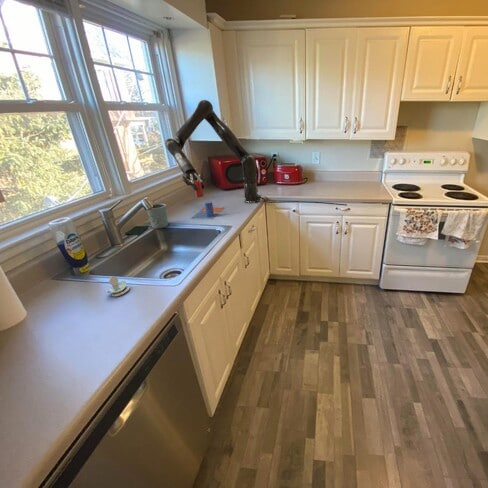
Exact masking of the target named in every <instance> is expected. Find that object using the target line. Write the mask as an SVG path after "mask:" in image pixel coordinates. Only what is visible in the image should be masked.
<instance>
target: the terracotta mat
mask: <svg viewBox="0 0 488 488" xmlns="http://www.w3.org/2000/svg"><path fill="white" fill-rule="evenodd" d="M224 209H225V207H217V206H216V207H215V206H213V211H214V213H220V212H221V211H222V210H224ZM201 212H206V209H205V207H204V208H203V209H201Z"/></svg>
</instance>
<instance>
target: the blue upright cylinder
mask: <svg viewBox="0 0 488 488" xmlns="http://www.w3.org/2000/svg"><path fill="white" fill-rule="evenodd" d="M213 207H214V203H213V201H211V200H207V201H204V208H205V209H206V211H205V213H206V215H207V217H213V216H214V213H215V212H214V211H213ZM214 217H215V216H214ZM214 217H213V218H214Z"/></svg>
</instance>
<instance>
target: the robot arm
mask: <svg viewBox="0 0 488 488" xmlns="http://www.w3.org/2000/svg"><path fill="white" fill-rule="evenodd" d="M204 120H205V121H206V122H207V123H208V125H210V126H211V128H212V129H213V131H214V132H215V134H216V135H217V136H218V137H219V139H220V140H221V141H222V142H223V144H224V145H225V146H226V147H227V148H228V149H229V150H230V151H231V152H233V153H234V155H235V156H236V157H237V158H238V160H239V161H240V163H241V166H242V179H243V192H244V202H245V203H247V204H254V203H257V202H259V201H260V200H263V201H264V202H265V203H268V204H269V203H270V204H273V203H274V204H284V203H285V204H286V203H288V204H290V203H292V204H294V203H301V204H302V203H304V204H305V203H306V204H307V203H308V204H325V205H336V206H348V204H346V203H335V202H324V201H305V200H303V201H301V200H300V201H297V200H295V201H294V200H293V201H292V200H291V201H288V200H287V201H286V200H283V201H275V200H274V201H268V200H266V199H265V198H264V197H262V196H261V194H259V190H258V189H259V188H258V186H257V165H256V163H257V162H256V160H255V158H254V157H253V156H252V154H250V153H249V152H248V151H247V150H246V149H245V148H244V146H243V145H242V144H241V141H240V140H239V138H238V137H237V136H236V134H235V133H234V132H233V130H232V129H231V128H230V127H229V126H228V125H227V124H226V123H225V122H224V121H222V119H220V117H218V115H217V114H216V113H215V111H214V106H213V104H212V102H211V101H209V100H207V99H202V100H200V101H199V102H198V103H197V106H196V108H195V110H194V111H193V113H192V114H191V116H190V117H189V118H188V119H187V120H186V121H185V122H184V123H183V124H182V126H181V127H180V128H179V129H178V130H177V131H176V133H175V136H176V139H174V138H171V137H169V138H167V139H166V140H165V141H164V145H165V148H166V149H167V151H168V153H170V155H171V156H172V157H173V159H174V160H175V162H176V163H177V165H178V167H179V169H180V171H181V172H182V174H183V175H182V177H181V181H183V182H184V183H185V184H186V186H188V187H190V186H191V187H192V189H193V191H194V192H195V191H196V190H197V187H196V186H195V184H194V182H196V181H200V182H201V183H202V189H203V190H204V189H205V188H206V185H205V183H204V182H205V176H204V174H203V173H202V172H201V173H198V172H197V170H196V168H195V167H194V165H193V164H192V162H191V160H190V159H189V158H188V156H187V155H186V153H185V152H184V151H183V149H184V147H185V144H186V142H187V141H188V139H189V138H190V137H191V136H192V134H193V133H194V132H195V131H196V129H197V128H198V126H199V125H200V124H202V122H203V121H204Z"/></svg>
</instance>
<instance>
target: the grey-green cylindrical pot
mask: <svg viewBox="0 0 488 488" xmlns="http://www.w3.org/2000/svg"><path fill="white" fill-rule="evenodd" d="M152 204H153V208H152V209H151V210H149V211H147V210H146V212H147V215H148V219H149V221H150V226H151V227H152V228H153V229H163V228H166V227H167V226H169V221H168V213H167V212H168V211H167V205H166V203H152Z"/></svg>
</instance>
